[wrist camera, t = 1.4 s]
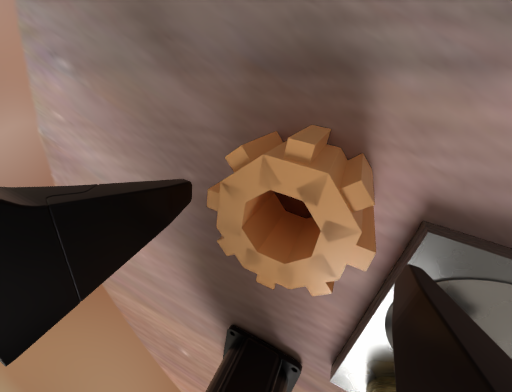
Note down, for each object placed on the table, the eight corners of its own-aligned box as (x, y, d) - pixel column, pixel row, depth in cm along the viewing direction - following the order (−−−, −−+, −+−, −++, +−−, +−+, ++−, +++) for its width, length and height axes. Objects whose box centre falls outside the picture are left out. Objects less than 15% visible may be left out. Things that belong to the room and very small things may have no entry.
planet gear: (345, 264, 12) (337, 325, 9) (239, 220, 14) (201, 258, 11) (402, 145, 9) (421, 174, 6) (255, 111, 11) (208, 118, 8)
